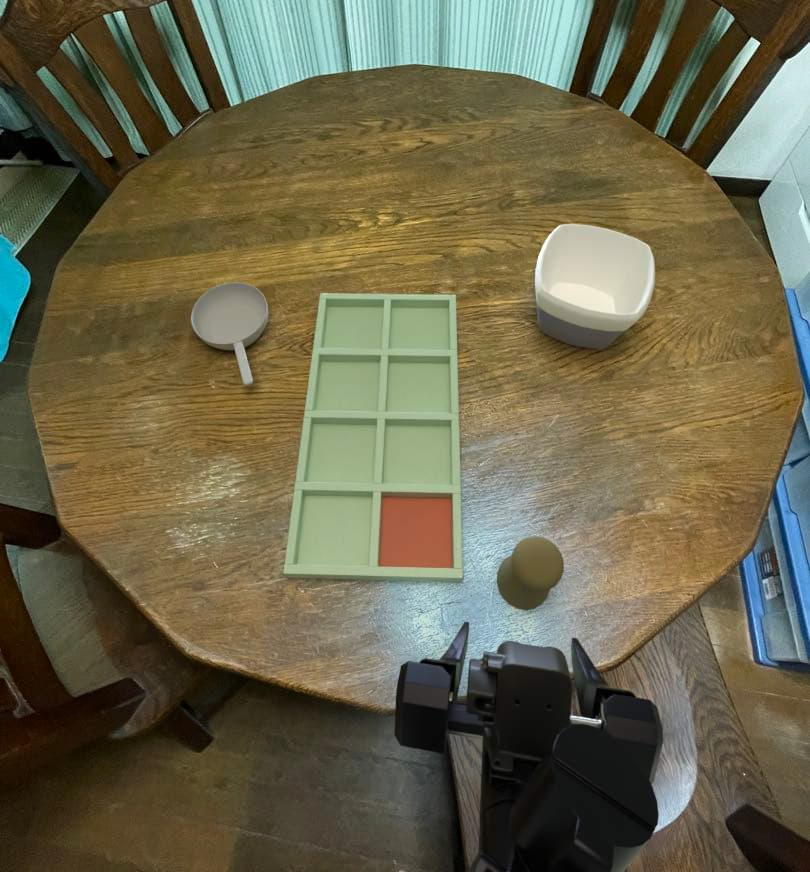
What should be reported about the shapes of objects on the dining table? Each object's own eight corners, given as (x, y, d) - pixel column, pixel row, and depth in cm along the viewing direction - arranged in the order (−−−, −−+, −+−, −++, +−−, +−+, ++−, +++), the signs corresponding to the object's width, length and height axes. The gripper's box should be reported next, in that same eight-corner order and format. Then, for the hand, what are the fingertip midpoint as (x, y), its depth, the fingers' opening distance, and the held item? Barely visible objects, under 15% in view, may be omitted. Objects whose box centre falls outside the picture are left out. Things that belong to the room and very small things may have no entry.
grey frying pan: (262, 287, 91) (257, 272, 87) (293, 384, 81) (288, 370, 78) (192, 308, 89) (184, 293, 85) (216, 410, 79) (207, 397, 76)
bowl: (537, 263, 92) (551, 212, 83) (638, 289, 89) (663, 239, 80) (513, 342, 84) (525, 295, 75) (622, 373, 81) (649, 328, 72)
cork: (491, 599, 66) (502, 580, 57) (503, 546, 69) (516, 520, 60) (544, 618, 65) (565, 601, 56) (554, 563, 68) (576, 539, 59)
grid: (461, 582, 67) (463, 578, 65) (286, 577, 68) (282, 573, 66) (455, 304, 88) (455, 294, 86) (322, 302, 89) (320, 293, 87)
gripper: (709, 767, 33) (646, 572, 47) (380, 710, 35) (417, 542, 50) (673, 895, 36) (625, 677, 51) (377, 835, 39) (412, 644, 54)
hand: (519, 633), depth 51 cm, fingers open, 9 cm apart
